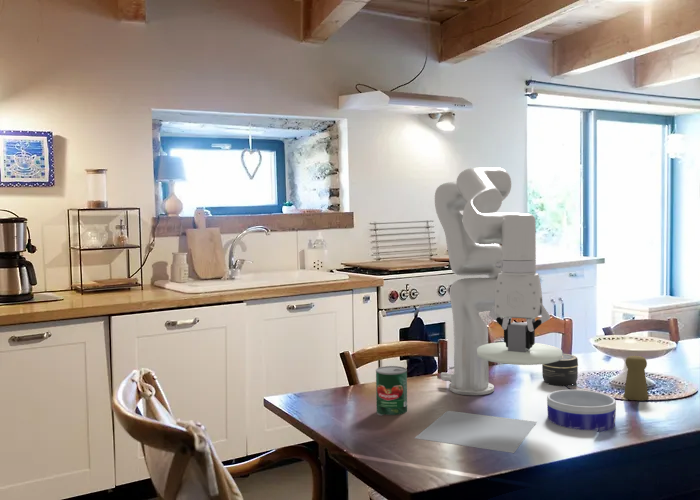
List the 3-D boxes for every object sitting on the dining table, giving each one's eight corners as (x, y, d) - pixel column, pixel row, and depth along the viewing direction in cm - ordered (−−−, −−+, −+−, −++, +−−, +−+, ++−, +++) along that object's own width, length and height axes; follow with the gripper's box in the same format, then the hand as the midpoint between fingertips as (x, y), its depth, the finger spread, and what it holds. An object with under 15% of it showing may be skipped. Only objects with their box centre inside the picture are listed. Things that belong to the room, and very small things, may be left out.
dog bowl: (555, 409, 166) (555, 386, 165) (620, 418, 158) (620, 393, 158) (540, 427, 153) (540, 401, 152) (610, 437, 145) (610, 410, 145)
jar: (558, 376, 198) (558, 351, 198) (585, 383, 190) (585, 357, 189) (534, 381, 193) (534, 355, 193) (561, 388, 185) (561, 361, 184)
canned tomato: (380, 418, 162) (379, 374, 161) (373, 409, 169) (372, 366, 169) (411, 415, 163) (410, 372, 162) (403, 406, 171) (402, 365, 170)
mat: (414, 440, 145) (414, 437, 145) (447, 413, 165) (447, 410, 164) (514, 455, 135) (514, 452, 135) (536, 424, 154) (536, 421, 154)
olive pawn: (651, 400, 171) (651, 359, 170) (626, 400, 172) (626, 358, 172) (645, 394, 177) (645, 354, 176) (621, 393, 178) (621, 353, 178)
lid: (465, 359, 148) (465, 328, 147) (491, 344, 164) (491, 315, 164) (551, 368, 138) (551, 334, 138) (570, 350, 155) (570, 320, 154)
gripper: (478, 268, 151) (478, 347, 152) (552, 270, 143) (552, 353, 144) (488, 265, 157) (489, 341, 158) (559, 267, 149) (560, 346, 150)
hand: (519, 346), depth 151 cm, fingers closed on lid, 4 cm apart
